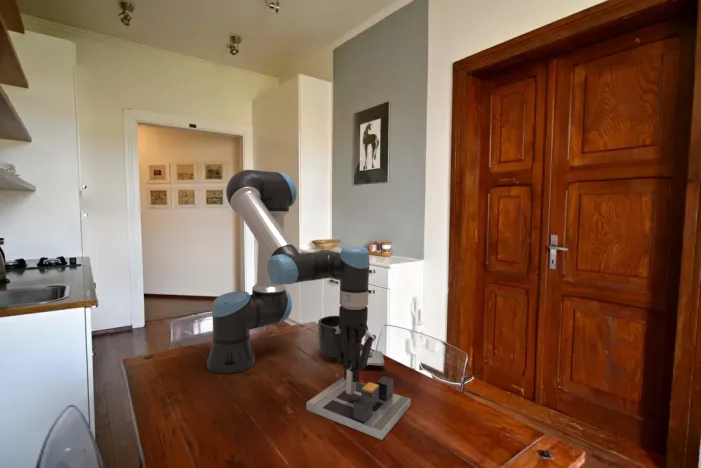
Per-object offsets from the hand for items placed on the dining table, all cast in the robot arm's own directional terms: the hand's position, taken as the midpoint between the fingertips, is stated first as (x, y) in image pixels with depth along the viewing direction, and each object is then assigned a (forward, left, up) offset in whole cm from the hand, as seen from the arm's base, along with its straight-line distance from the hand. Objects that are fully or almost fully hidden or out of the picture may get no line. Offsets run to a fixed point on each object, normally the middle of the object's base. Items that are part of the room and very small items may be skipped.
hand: (351, 391), depth 96 cm
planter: (-20, +24, -4) cm, 32 cm away
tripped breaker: (+6, 0, -1) cm, 6 cm away
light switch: (-8, +25, -4) cm, 26 cm away
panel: (+3, 0, -4) cm, 4 cm away
